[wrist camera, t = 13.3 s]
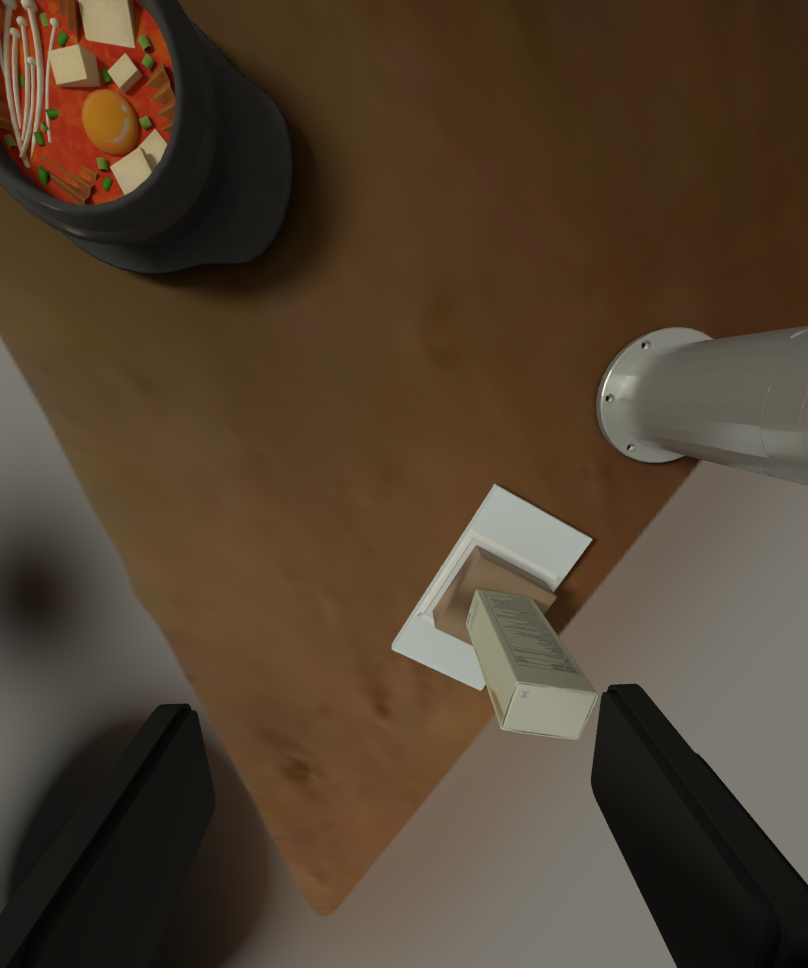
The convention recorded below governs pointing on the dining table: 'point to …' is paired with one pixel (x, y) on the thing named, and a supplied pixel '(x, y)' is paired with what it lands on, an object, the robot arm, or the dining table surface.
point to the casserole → (138, 135)
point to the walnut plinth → (485, 575)
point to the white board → (510, 536)
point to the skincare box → (527, 668)
